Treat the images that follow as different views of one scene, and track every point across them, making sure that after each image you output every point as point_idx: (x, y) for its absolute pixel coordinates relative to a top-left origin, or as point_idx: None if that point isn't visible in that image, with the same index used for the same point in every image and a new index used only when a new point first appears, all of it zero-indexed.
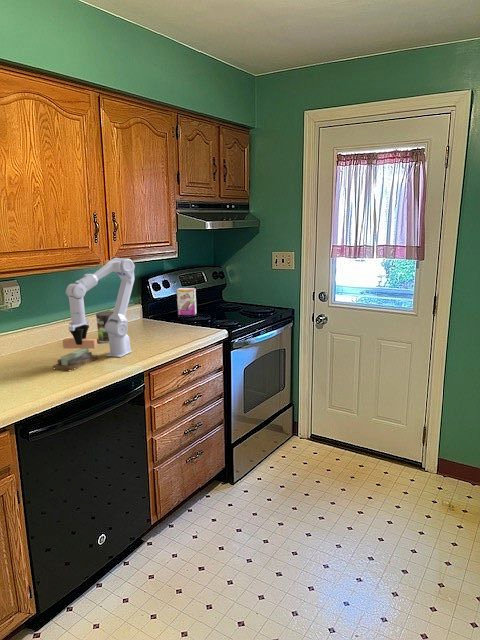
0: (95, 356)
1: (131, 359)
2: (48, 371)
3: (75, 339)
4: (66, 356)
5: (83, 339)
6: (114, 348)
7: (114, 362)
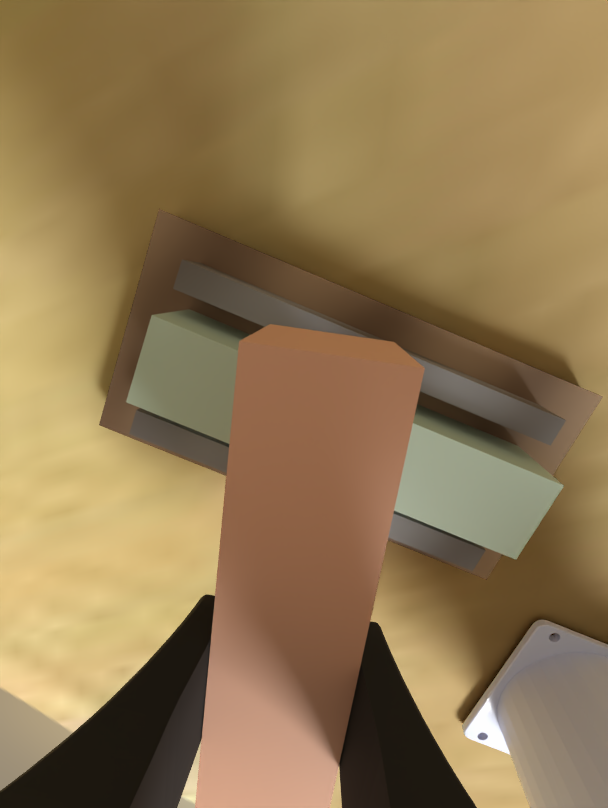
0: (459, 566)
1: None
2: (105, 194)
3: (153, 675)
4: (171, 387)
5: (272, 753)
6: (528, 768)
7: None
